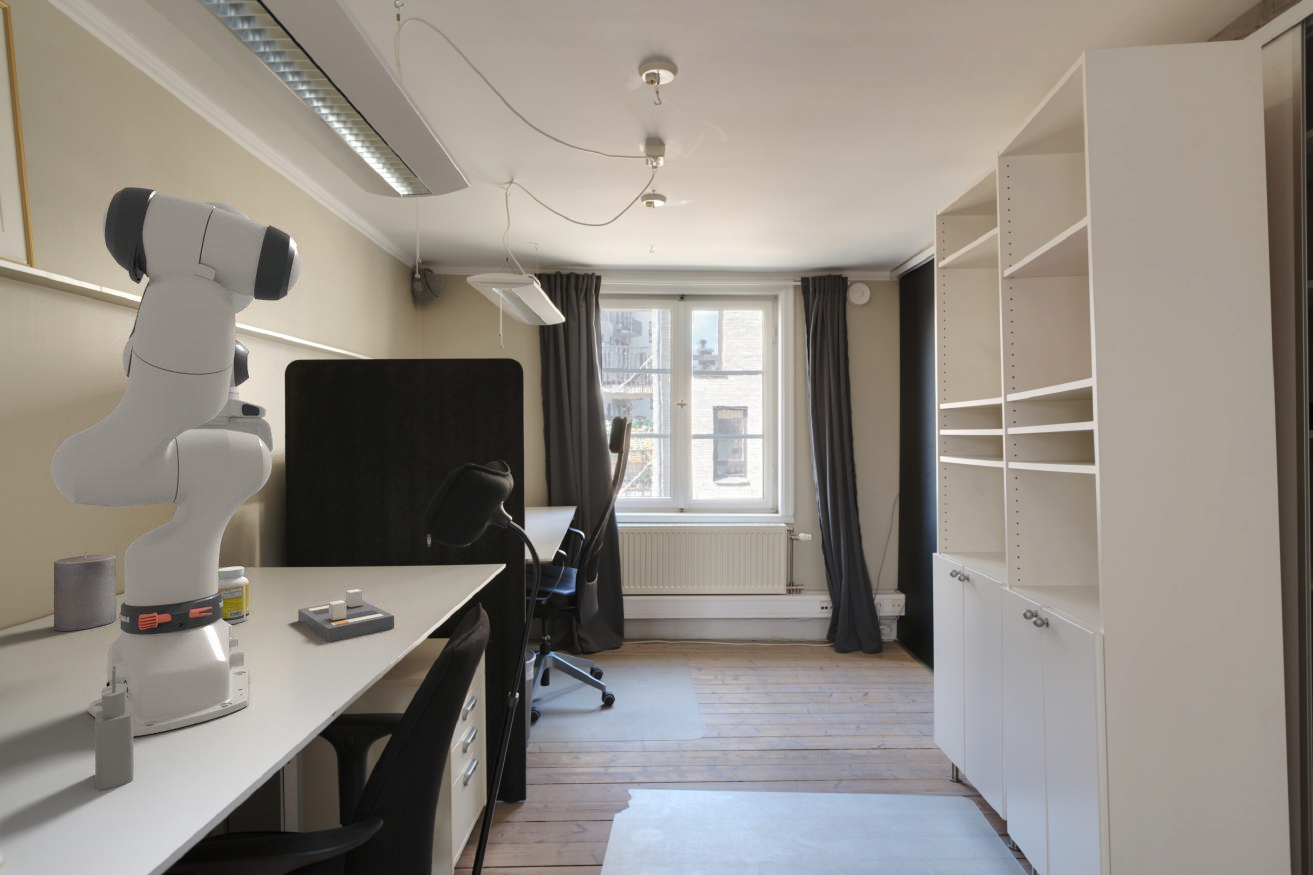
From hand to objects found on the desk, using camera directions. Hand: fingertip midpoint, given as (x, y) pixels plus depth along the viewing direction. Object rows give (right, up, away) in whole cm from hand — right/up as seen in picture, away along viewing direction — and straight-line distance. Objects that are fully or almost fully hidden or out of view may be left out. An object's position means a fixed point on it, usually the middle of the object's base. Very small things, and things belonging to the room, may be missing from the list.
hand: (213, 478), depth 125 cm
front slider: (+25, -27, -1) cm, 37 cm away
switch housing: (+24, -30, +4) cm, 38 cm away
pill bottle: (-1, -30, +7) cm, 31 cm away
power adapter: (+27, -30, -55) cm, 68 cm away
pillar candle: (-31, -31, +7) cm, 44 cm away
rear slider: (+23, -27, +9) cm, 37 cm away
